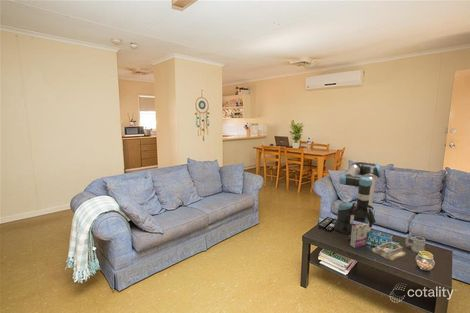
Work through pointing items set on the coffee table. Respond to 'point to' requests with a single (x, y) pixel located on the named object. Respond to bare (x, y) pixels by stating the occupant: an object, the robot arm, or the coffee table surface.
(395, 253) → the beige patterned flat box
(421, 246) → the mug
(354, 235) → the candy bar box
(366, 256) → the coffee table surface
